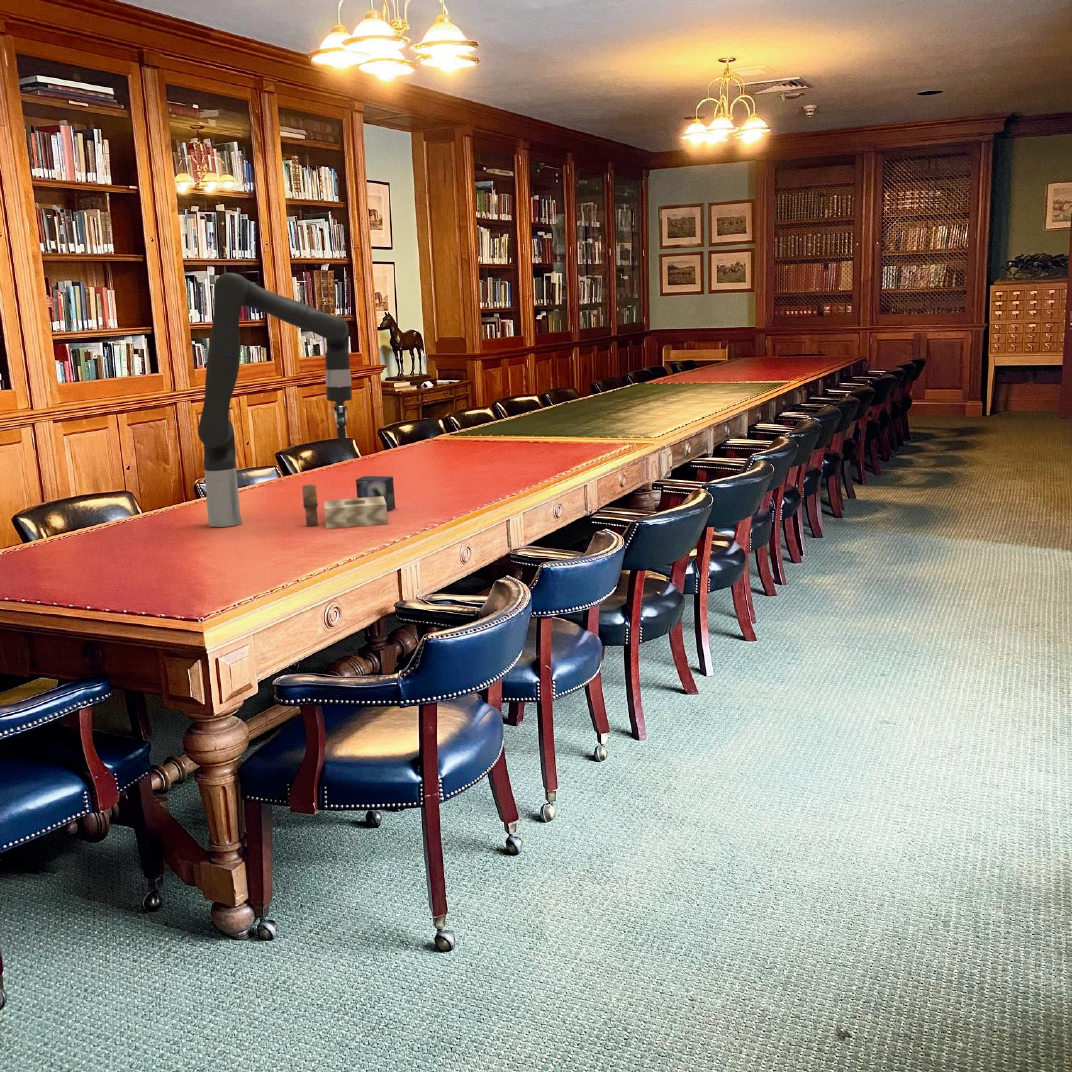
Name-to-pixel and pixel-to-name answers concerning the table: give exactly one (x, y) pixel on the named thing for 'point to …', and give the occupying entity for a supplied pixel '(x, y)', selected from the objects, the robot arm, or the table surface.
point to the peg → (310, 504)
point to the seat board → (355, 512)
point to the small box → (377, 489)
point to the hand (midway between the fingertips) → (341, 438)
